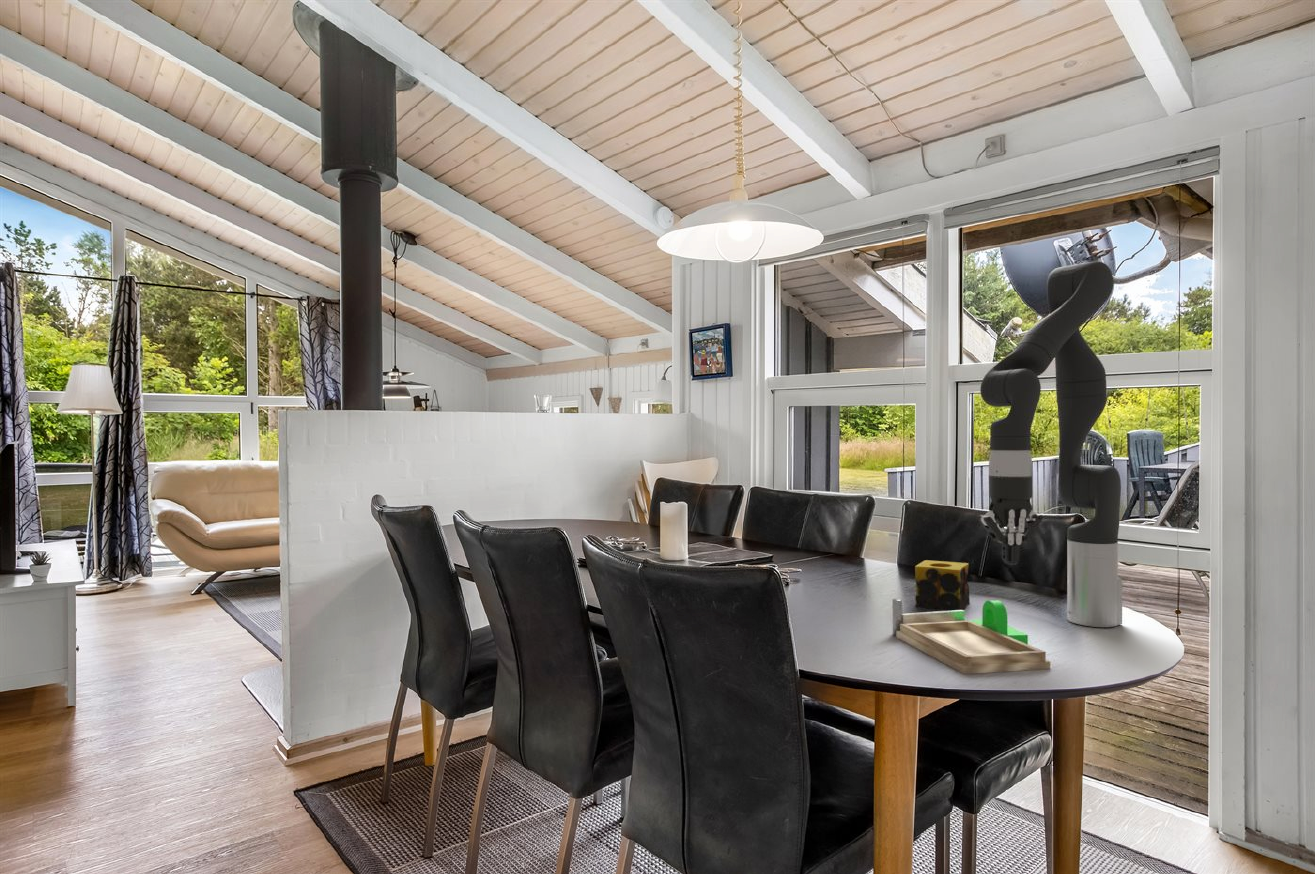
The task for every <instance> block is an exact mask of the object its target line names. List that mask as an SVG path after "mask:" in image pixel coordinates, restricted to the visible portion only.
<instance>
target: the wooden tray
mask: <svg viewBox="0 0 1315 874" xmlns="http://www.w3.org/2000/svg"><path fill="white" fill-rule="evenodd" d="M966 620H967V621H966ZM966 620H965V621H948V622H929V623H910V624H900V631H896V636H895V637H896V638H898V639H899V640H901V641H903V642H904V643H907V644H908V645H910V646H912V647H914V648H915V649H918V650H919V651H921V652H923V653H925V654H927V655H929V656H930V657H931V658H934V659H936V660H937V661H940V662H942V663H944V664H945V665H946V666H949V667H950V668H953V670H954V669H955V670H956V671H958V672H960V673H962V674H964V675H971V674H972V675H974V674H975V675H976V674H988V673H989V674H990V673H1002V672H1019V671H1034V670H1036V671H1037V670H1049V669H1051V661H1050V660H1049V659H1046V658H1047V657H1046V653H1047V652H1046V651H1044V650H1042V649H1039V648H1037V647H1034V646H1033V645H1030V644H1029V643H1028V644H1025V643H1023V642H1020V641H1018V640H1016V639H1013V638H1011V637H1008V636H1006V635H1004V634H1001V633H999V632H996V631H994V630H991V629H989V628H987V627H984V626H982V625H979V624H977V623H975V622H972V621H970V620H971V619H966Z"/></svg>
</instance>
